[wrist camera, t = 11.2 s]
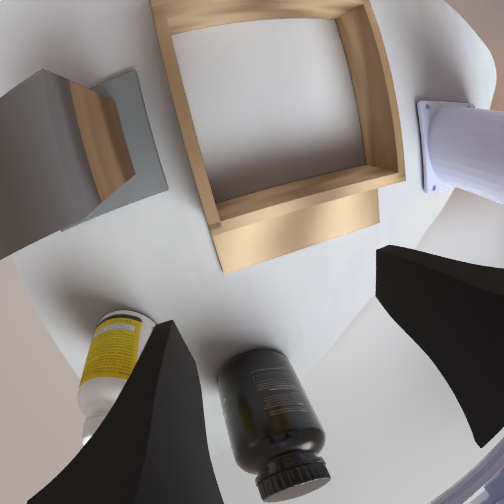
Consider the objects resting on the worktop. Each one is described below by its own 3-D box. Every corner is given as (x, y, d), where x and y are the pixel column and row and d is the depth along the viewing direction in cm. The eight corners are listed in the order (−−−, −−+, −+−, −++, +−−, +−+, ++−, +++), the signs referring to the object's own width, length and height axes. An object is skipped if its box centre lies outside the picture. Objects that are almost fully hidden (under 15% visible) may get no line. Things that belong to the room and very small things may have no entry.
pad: (136, 71, 12) (135, 69, 12) (168, 188, 15) (168, 190, 15) (30, 122, 11) (27, 123, 11) (63, 229, 15) (61, 231, 14)
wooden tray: (324, -28, 11) (348, -47, 8) (377, 221, 20) (406, 237, 17) (147, -15, 10) (141, -42, 6) (223, 272, 18) (232, 301, 15)
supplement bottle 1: (85, 336, 18) (56, 442, 9) (120, 294, 17) (91, 413, 9) (139, 370, 20) (136, 475, 12) (178, 335, 20) (188, 451, 11)
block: (115, 102, 12) (42, 68, 4) (135, 174, 14) (82, 219, 6) (50, 133, 12) (-52, 145, 4) (70, 201, 14) (-14, 267, 6)
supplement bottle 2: (200, 381, 22) (224, 506, 11) (255, 334, 21) (311, 469, 11) (252, 403, 25) (288, 505, 14) (303, 364, 24) (361, 469, 14)
